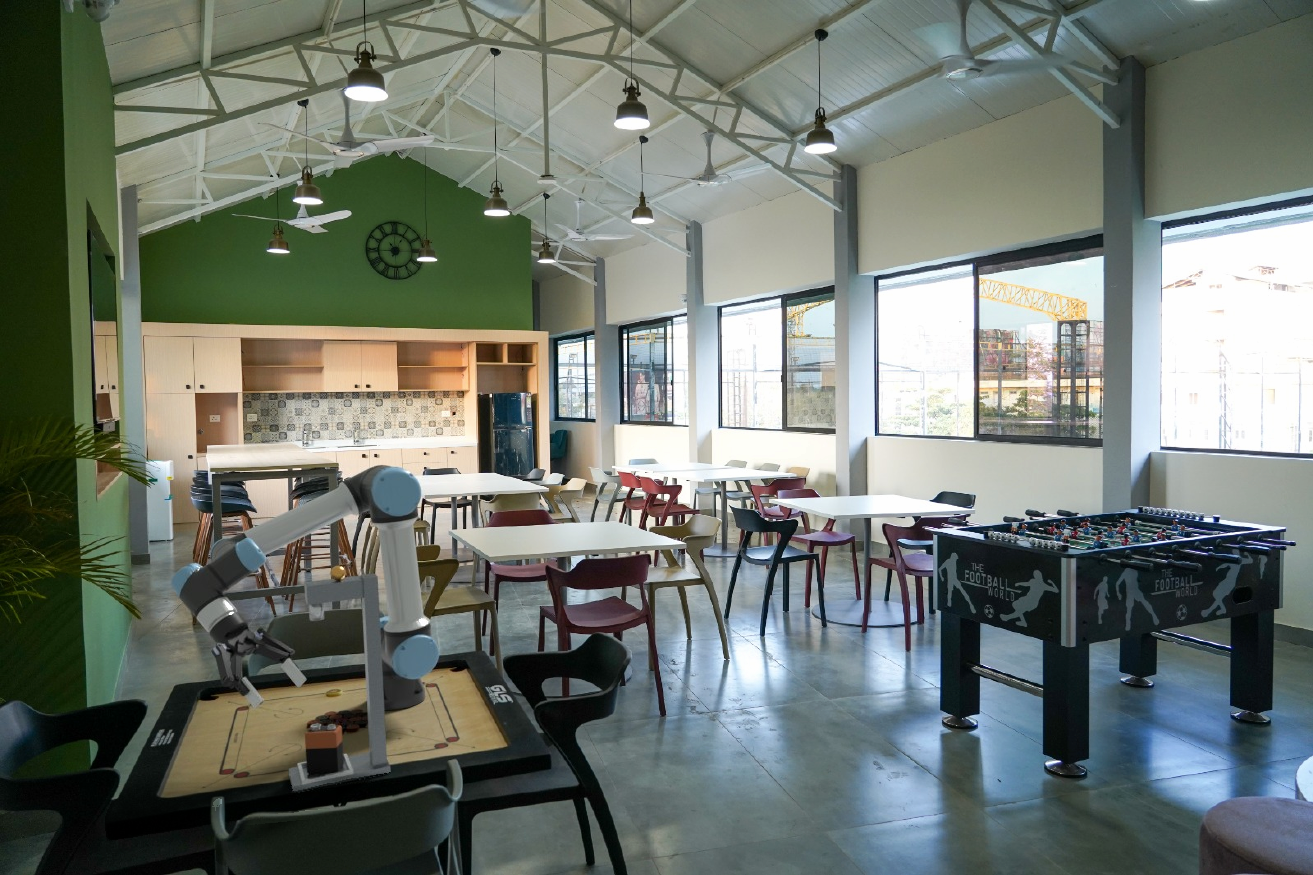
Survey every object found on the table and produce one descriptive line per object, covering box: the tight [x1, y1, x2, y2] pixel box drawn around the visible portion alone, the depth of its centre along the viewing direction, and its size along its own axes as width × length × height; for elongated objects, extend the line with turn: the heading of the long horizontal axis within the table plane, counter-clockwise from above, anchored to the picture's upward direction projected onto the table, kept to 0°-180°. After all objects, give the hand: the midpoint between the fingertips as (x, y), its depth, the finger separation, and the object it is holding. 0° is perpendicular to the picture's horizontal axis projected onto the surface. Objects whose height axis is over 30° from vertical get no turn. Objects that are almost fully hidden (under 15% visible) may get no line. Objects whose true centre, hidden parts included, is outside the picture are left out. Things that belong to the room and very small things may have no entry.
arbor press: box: [288, 565, 392, 792], centre depth 199 cm, size 10×20×46 cm, turn 116°
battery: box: [304, 723, 344, 774], centre depth 199 cm, size 4×7×10 cm, turn 91°
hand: (281, 693), depth 202 cm, fingers open, 13 cm apart
